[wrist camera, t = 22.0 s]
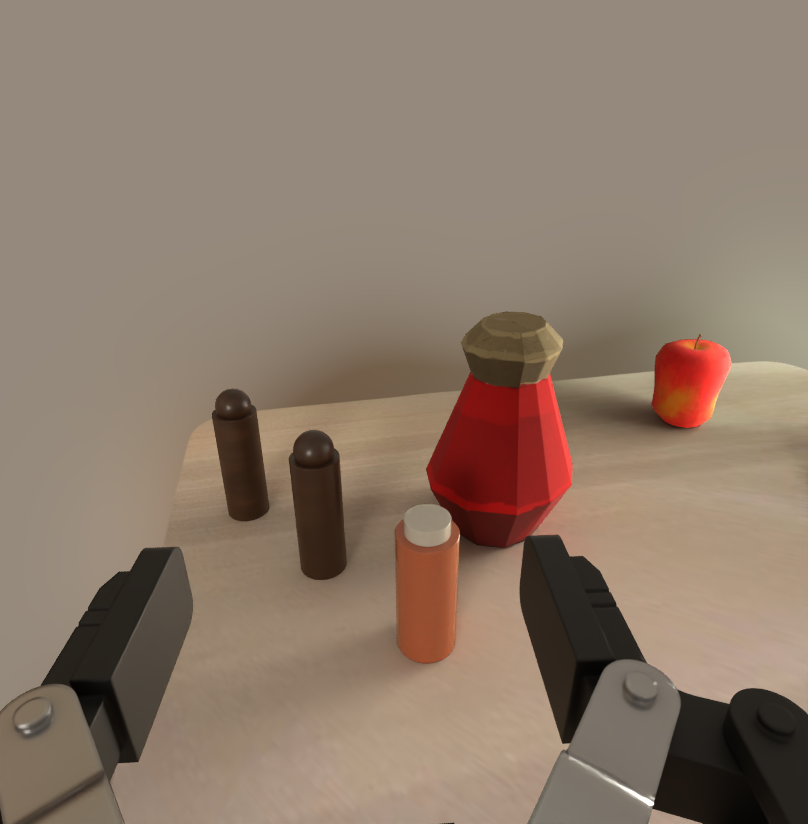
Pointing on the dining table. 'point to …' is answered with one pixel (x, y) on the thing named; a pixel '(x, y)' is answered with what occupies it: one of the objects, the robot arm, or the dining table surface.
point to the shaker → (426, 583)
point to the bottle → (504, 434)
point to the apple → (689, 380)
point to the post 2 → (318, 505)
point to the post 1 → (240, 455)
